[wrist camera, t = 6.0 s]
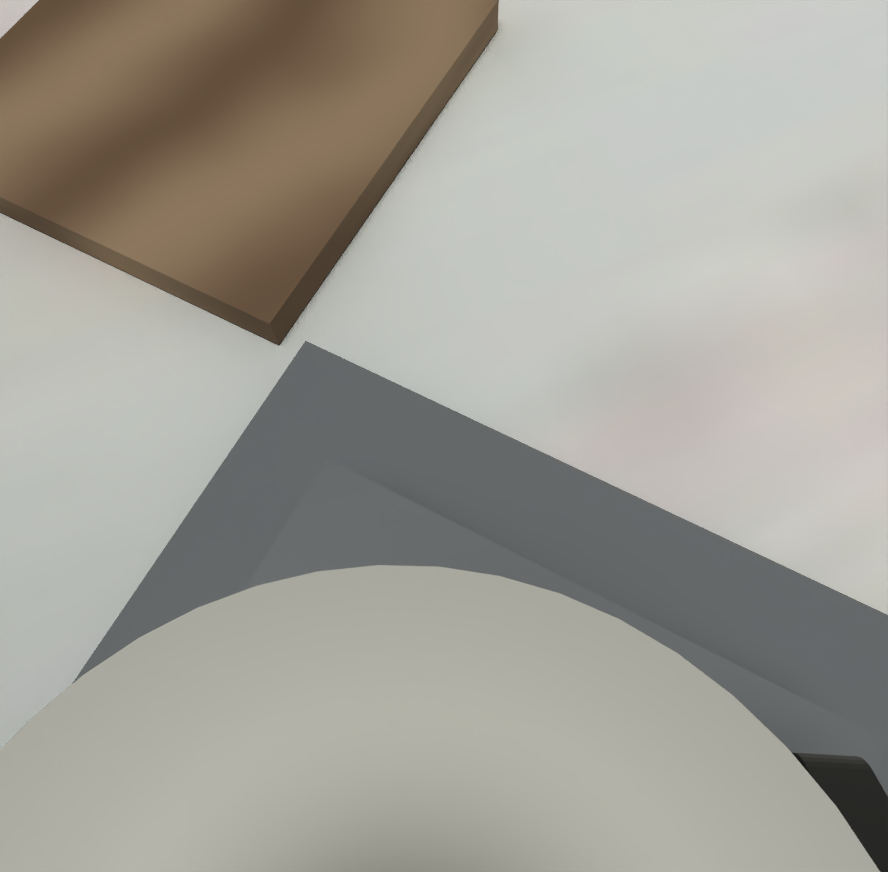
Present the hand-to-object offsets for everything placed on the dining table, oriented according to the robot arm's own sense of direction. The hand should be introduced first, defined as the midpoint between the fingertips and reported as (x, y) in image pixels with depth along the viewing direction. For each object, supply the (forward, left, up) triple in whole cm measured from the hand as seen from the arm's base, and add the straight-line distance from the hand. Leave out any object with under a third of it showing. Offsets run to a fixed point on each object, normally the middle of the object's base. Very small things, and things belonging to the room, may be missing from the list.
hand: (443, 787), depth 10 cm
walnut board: (-14, +13, -7) cm, 20 cm away
